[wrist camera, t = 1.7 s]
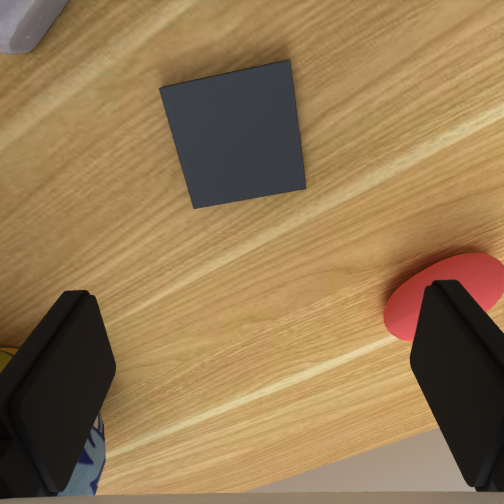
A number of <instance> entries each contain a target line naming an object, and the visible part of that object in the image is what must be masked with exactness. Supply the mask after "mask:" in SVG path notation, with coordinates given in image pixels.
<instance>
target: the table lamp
mask: <svg viewBox="0 0 504 504" xmlns="http://www.w3.org/2000/svg"><path fill="white" fill-rule="evenodd" d="M18 349H19V348H14V347H0V373H1V371H2V370H3V369H4V367H5V366H6V365H7V364H8V362H9V361H10V360H11V358H12V357H13V356H14V355H15V353H16V352H17V351H18ZM104 465H105V436H104V424H103V421H102V418H101V415H100V411H99V413H98V416H97V418H96V420H95V423H94V425H93V427H92V429H91V432H90V434H89V436H88V439H87V441H86V443H85V446H84V448H83V450H82V453H81V455H80V457H79V460H78V462H77V464H76V467H75V469H74V471H73V474H72V476H71V478H70V481H69V483H68V485H67V487H66V489H65V490H64V491H63V492H59V493H58V495H57V497H62V496H95V493H96V491H97V488H98V484H99V481H100V478H101V474H102V471H103V468H104Z"/></svg>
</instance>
